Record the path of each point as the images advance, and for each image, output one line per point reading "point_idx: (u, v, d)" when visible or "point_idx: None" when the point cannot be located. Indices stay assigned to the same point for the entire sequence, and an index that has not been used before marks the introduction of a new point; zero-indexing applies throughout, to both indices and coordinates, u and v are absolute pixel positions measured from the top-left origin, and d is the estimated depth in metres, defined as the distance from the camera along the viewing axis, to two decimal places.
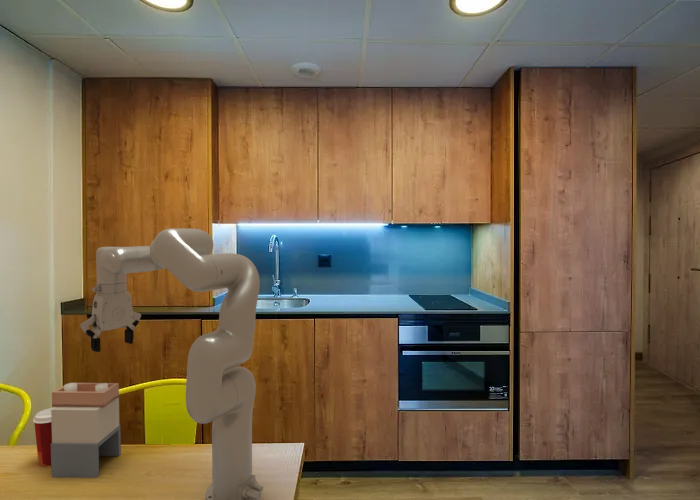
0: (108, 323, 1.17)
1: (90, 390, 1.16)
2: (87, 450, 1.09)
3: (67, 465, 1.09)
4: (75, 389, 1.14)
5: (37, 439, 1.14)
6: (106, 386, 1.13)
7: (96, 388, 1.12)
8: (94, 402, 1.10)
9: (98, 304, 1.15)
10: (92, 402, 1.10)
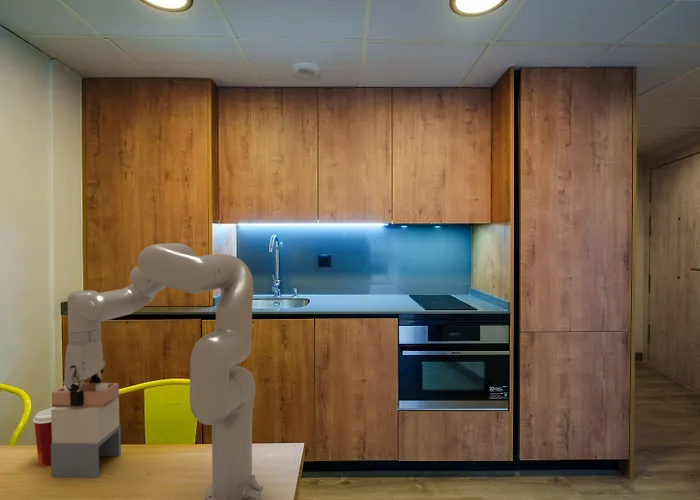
0: None
1: (90, 390, 1.16)
2: (87, 450, 1.09)
3: (67, 465, 1.09)
4: None
5: (37, 439, 1.14)
6: (106, 386, 1.13)
7: (96, 388, 1.12)
8: (94, 402, 1.10)
9: None
10: (92, 402, 1.10)
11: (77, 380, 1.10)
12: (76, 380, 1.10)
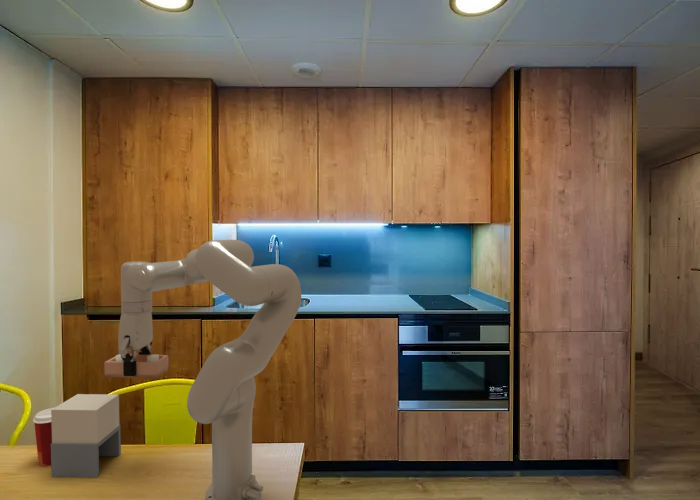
0: None
1: (140, 362, 1.16)
2: (87, 450, 1.09)
3: (67, 465, 1.09)
4: None
5: (37, 439, 1.14)
6: (157, 357, 1.13)
7: (148, 359, 1.12)
8: (147, 372, 1.10)
9: None
10: (145, 372, 1.10)
11: (130, 350, 1.09)
12: (129, 350, 1.09)
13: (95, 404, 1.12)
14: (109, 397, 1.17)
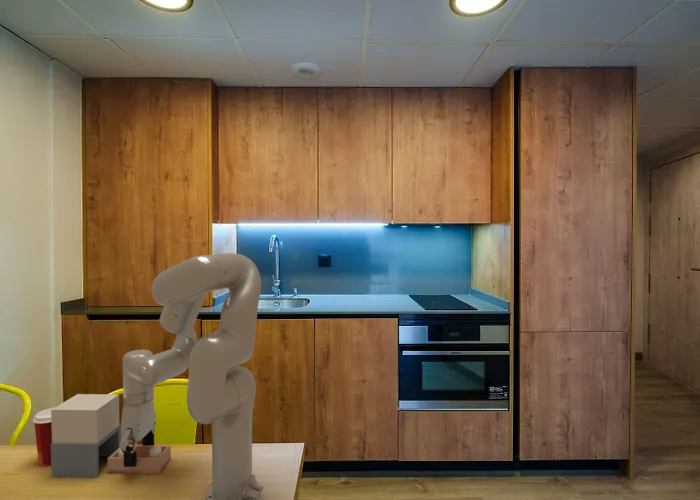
0: None
1: (143, 453, 1.17)
2: (87, 450, 1.09)
3: (67, 465, 1.09)
4: None
5: (37, 439, 1.14)
6: (160, 450, 1.14)
7: (150, 453, 1.13)
8: (149, 468, 1.11)
9: None
10: (147, 468, 1.11)
11: (131, 441, 1.10)
12: (130, 441, 1.10)
13: (95, 404, 1.12)
14: (109, 397, 1.17)
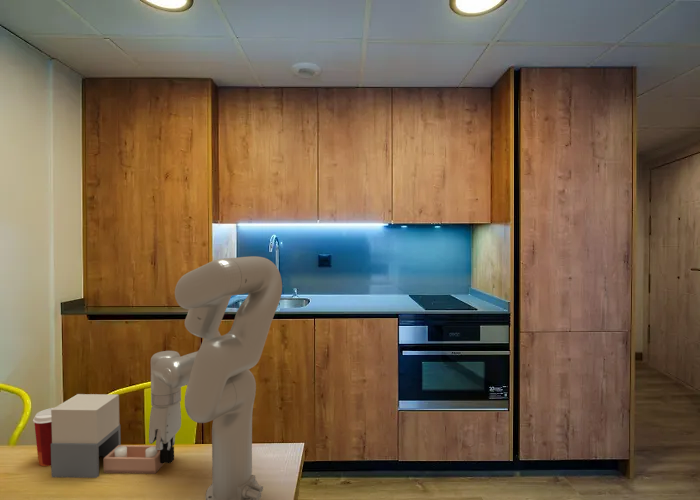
0: None
1: (139, 453, 1.17)
2: (87, 450, 1.09)
3: (67, 465, 1.09)
4: (125, 453, 1.14)
5: (37, 439, 1.14)
6: (156, 451, 1.14)
7: (146, 453, 1.13)
8: (145, 468, 1.11)
9: None
10: (143, 468, 1.11)
11: None
12: (163, 441, 1.12)
13: (95, 404, 1.12)
14: (109, 397, 1.17)
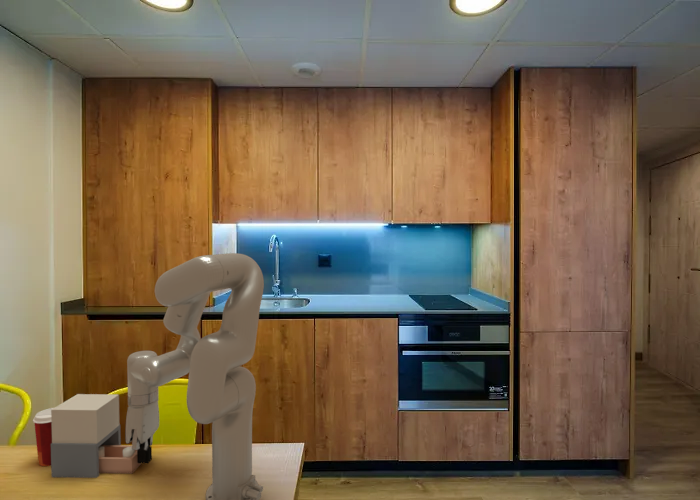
0: None
1: (117, 453, 1.17)
2: (87, 450, 1.09)
3: (67, 465, 1.09)
4: (102, 453, 1.14)
5: (37, 439, 1.14)
6: (133, 450, 1.14)
7: (123, 453, 1.13)
8: (122, 468, 1.11)
9: None
10: (120, 468, 1.11)
11: None
12: None
13: (95, 404, 1.12)
14: (109, 397, 1.17)
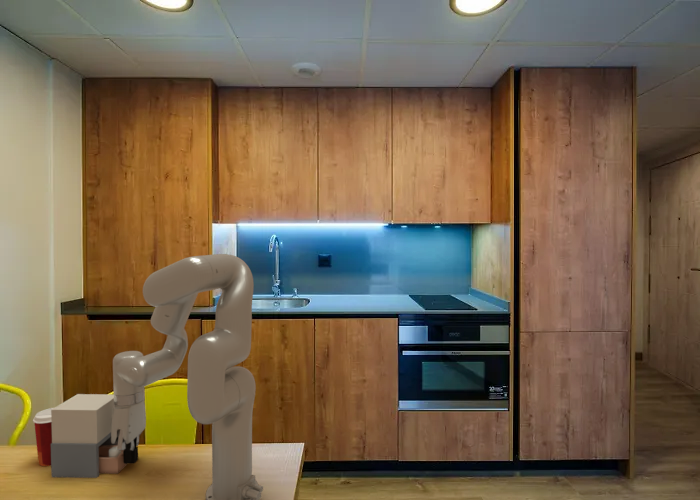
0: None
1: (103, 453, 1.17)
2: (87, 450, 1.09)
3: (67, 465, 1.09)
4: None
5: (37, 439, 1.14)
6: (119, 450, 1.14)
7: (109, 453, 1.13)
8: (108, 468, 1.11)
9: None
10: (106, 468, 1.11)
11: None
12: None
13: (95, 404, 1.12)
14: (109, 397, 1.17)
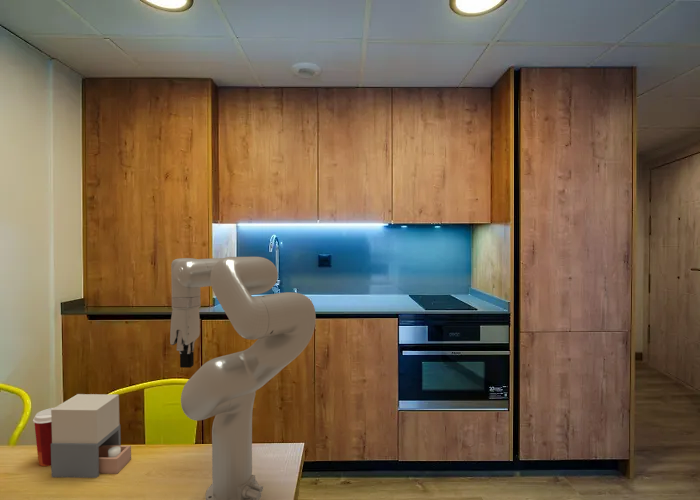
0: None
1: (103, 453, 1.17)
2: (87, 450, 1.09)
3: (67, 465, 1.09)
4: None
5: (37, 439, 1.14)
6: (119, 450, 1.14)
7: (109, 453, 1.13)
8: (107, 468, 1.11)
9: None
10: (105, 468, 1.11)
11: (184, 345, 1.14)
12: (183, 345, 1.14)
13: (95, 404, 1.12)
14: (109, 397, 1.17)
